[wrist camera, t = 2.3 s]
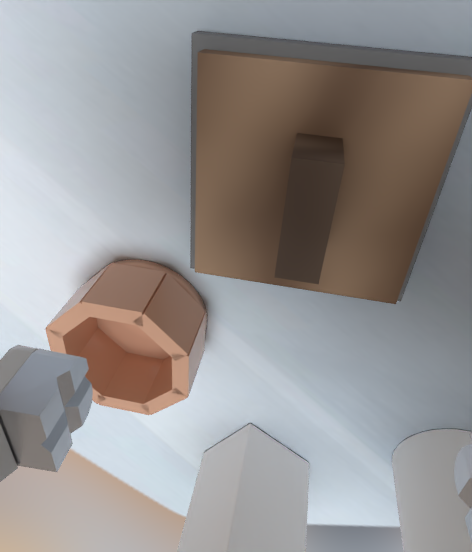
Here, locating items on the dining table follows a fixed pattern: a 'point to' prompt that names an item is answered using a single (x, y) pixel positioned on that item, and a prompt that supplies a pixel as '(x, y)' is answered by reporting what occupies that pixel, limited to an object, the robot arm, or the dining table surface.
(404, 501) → the cylindrical container
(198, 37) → the mat
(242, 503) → the milk
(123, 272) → the bowl
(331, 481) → the dining table surface
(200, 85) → the lid
